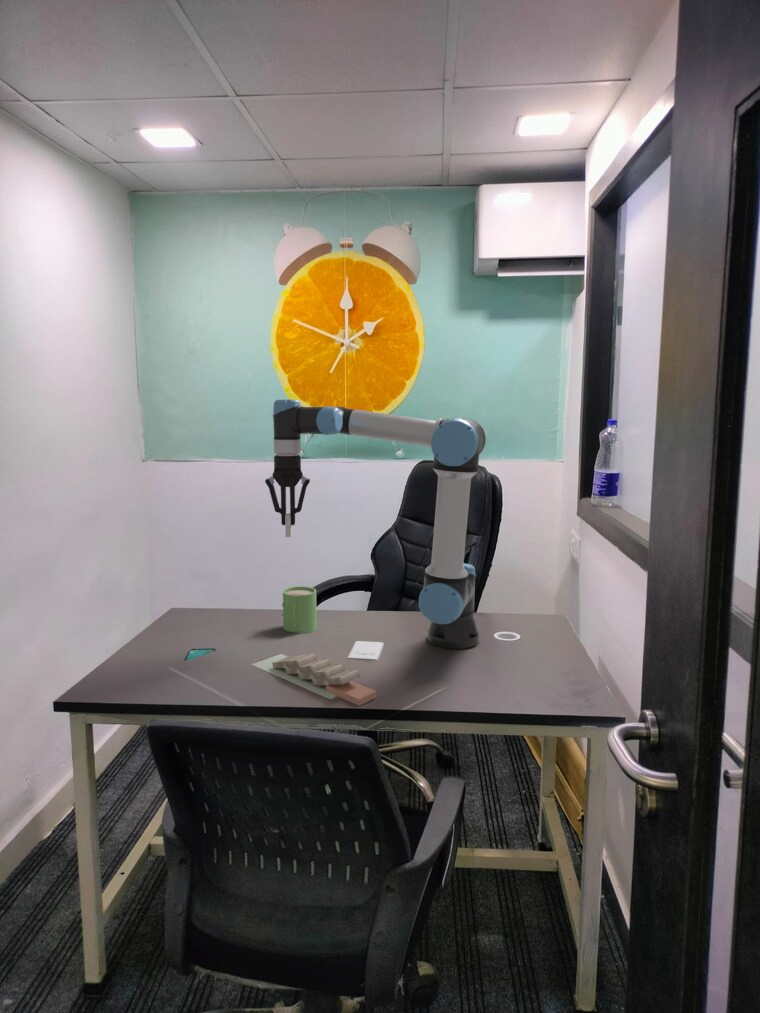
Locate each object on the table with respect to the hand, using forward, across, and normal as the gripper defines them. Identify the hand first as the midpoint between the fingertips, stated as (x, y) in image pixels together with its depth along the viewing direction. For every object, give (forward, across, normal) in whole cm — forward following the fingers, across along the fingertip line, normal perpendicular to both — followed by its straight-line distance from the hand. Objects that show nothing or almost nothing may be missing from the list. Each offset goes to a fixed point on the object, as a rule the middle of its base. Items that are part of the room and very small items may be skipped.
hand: (288, 536), depth 186 cm
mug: (+31, -2, -6) cm, 31 cm away
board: (+30, -6, +29) cm, 42 cm away
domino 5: (+29, -14, +37) cm, 49 cm away
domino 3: (+29, -7, +30) cm, 42 cm away
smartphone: (+31, +23, +17) cm, 42 cm away
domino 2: (+29, -3, +26) cm, 39 cm away
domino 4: (+29, -10, +34) cm, 46 cm away
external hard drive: (+31, -22, +13) cm, 41 cm away
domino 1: (+29, 0, +23) cm, 37 cm away
